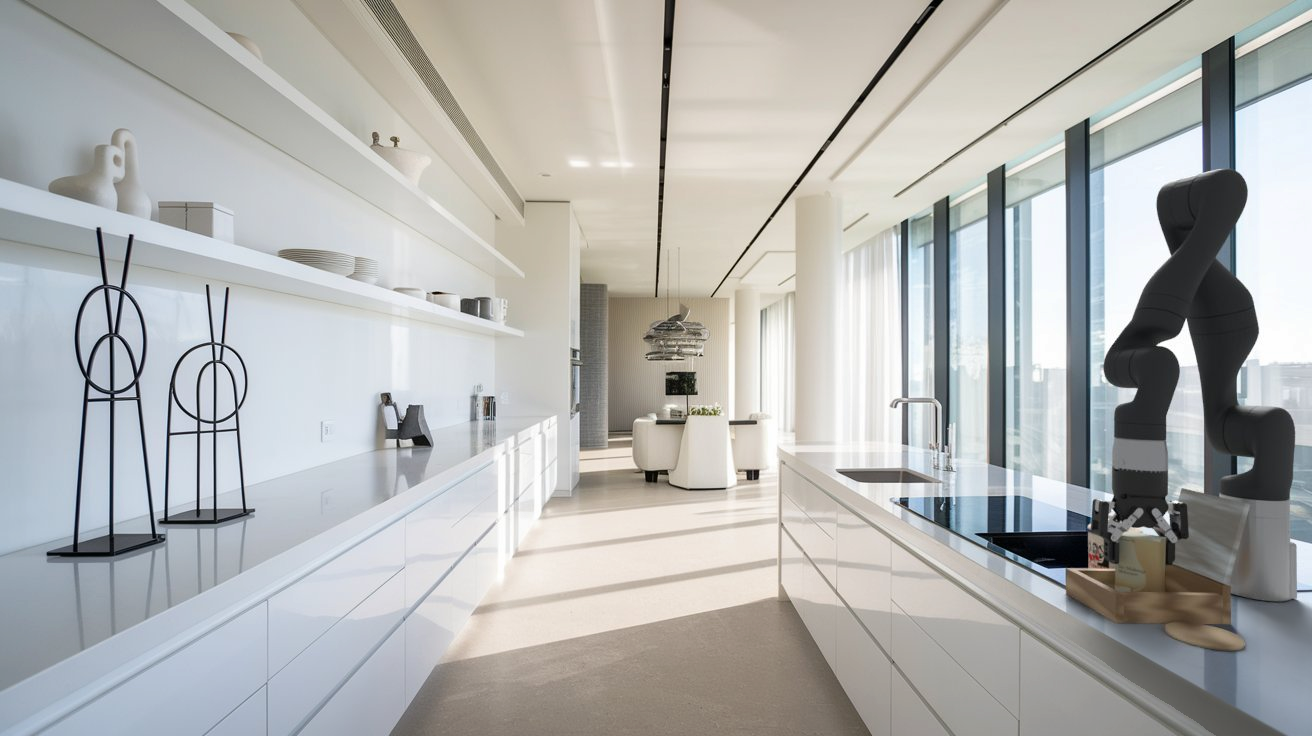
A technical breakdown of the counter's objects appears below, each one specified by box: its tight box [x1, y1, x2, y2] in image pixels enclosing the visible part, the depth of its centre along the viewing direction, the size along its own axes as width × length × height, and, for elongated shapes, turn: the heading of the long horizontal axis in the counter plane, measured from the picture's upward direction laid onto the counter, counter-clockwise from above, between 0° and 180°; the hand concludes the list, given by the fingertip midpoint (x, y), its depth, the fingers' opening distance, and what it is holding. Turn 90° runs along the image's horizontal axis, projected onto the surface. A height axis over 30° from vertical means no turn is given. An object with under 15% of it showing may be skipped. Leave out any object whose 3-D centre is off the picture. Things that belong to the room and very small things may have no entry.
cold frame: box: [1065, 487, 1250, 625], centre depth 109 cm, size 21×14×19 cm
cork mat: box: [1164, 622, 1245, 652], centre depth 96 cm, size 9×9×1 cm
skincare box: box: [1115, 531, 1166, 592], centre depth 108 cm, size 6×4×12 cm
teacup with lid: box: [1086, 513, 1144, 569], centre depth 124 cm, size 12×9×12 cm
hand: (1138, 563), depth 108 cm, fingers open, 8 cm apart
